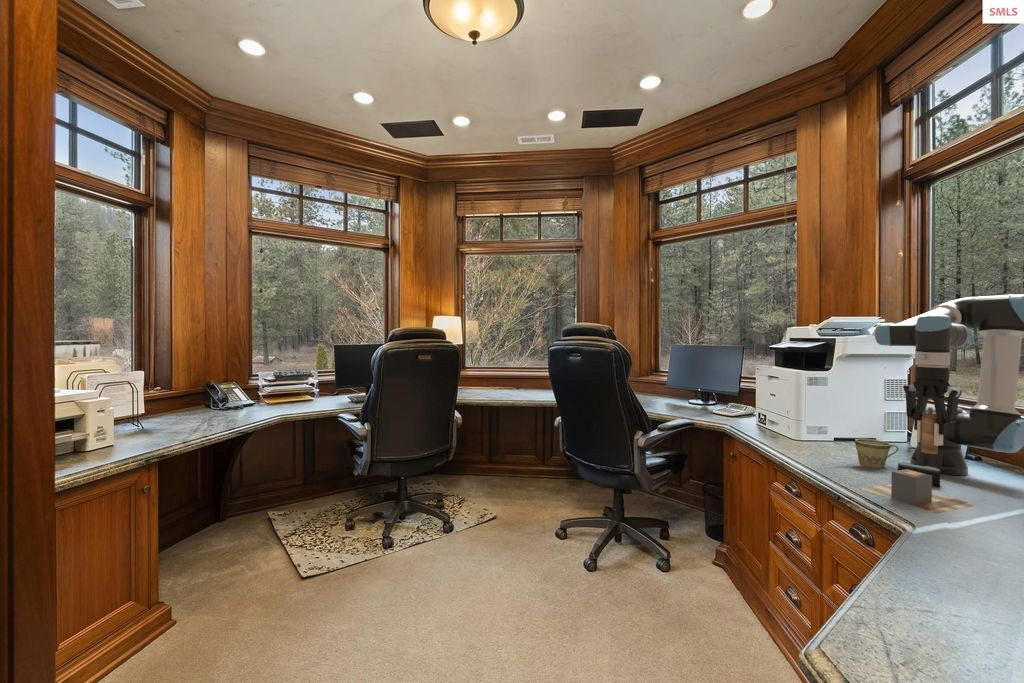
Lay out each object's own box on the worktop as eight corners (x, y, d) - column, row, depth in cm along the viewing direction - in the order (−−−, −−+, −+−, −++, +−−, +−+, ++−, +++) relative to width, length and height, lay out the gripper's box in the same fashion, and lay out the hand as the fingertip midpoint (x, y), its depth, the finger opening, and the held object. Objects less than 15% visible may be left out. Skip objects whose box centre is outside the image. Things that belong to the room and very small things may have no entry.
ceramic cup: (862, 471, 155) (863, 444, 154) (849, 463, 164) (850, 437, 164) (905, 474, 151) (906, 447, 151) (890, 466, 160) (890, 440, 160)
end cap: (897, 484, 141) (898, 464, 141) (898, 479, 146) (898, 459, 146) (940, 492, 134) (940, 471, 134) (939, 486, 139) (939, 466, 139)
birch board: (898, 486, 139) (898, 482, 139) (976, 509, 121) (976, 504, 121) (860, 492, 133) (860, 488, 133) (936, 517, 115) (936, 512, 115)
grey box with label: (906, 495, 128) (907, 468, 128) (931, 502, 122) (932, 474, 122) (891, 497, 126) (891, 470, 126) (915, 505, 120) (916, 477, 120)
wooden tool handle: (926, 450, 130) (927, 406, 130) (940, 453, 127) (941, 408, 127) (917, 451, 130) (919, 407, 129) (932, 454, 126) (933, 409, 126)
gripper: (891, 364, 135) (889, 437, 135) (959, 368, 119) (956, 451, 119) (908, 364, 137) (906, 436, 137) (976, 368, 121) (974, 449, 121)
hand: (929, 443), depth 128 cm, fingers closed on wooden tool handle, 3 cm apart
